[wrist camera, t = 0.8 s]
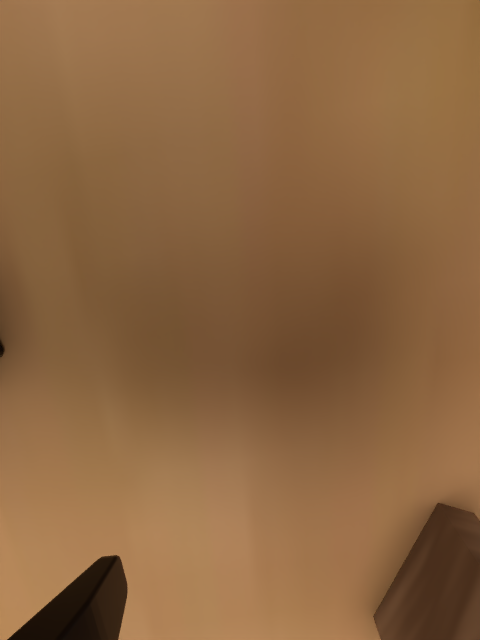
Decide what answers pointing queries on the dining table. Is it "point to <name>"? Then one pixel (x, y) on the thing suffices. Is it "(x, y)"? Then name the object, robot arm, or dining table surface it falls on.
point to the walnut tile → (437, 583)
